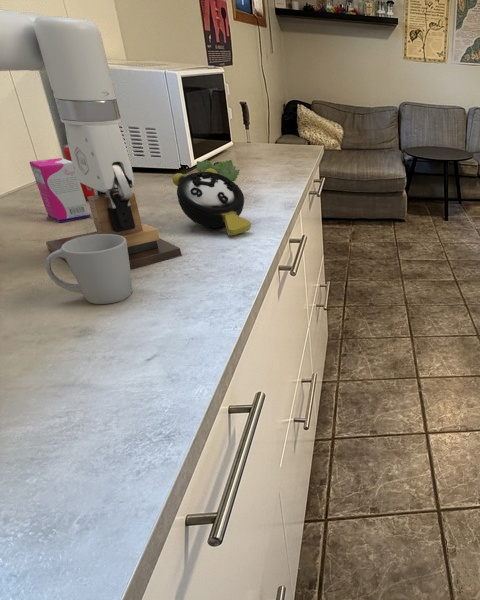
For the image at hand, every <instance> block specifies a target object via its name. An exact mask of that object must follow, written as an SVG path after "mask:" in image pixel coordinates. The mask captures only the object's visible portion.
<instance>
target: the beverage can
mask: <svg viewBox="0 0 480 600" xmlns="http://www.w3.org/2000/svg"><path fill="white" fill-rule="evenodd" d="M63 153H64V157H65V159H66V160H69V161H72V159H71V155H70V151H69V146H68V143H66V144H64V145H63ZM80 184H81V188H82V191H83V194H84V197H85V200H86V202H88V198H87V197H89V196H95V193H94V190H93V188H91V187H89V186H86V185H84V184H82V183H80Z"/></svg>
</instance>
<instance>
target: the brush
mask: <svg viewBox="0 0 480 600" xmlns="http://www.w3.org/2000/svg"><path fill="white" fill-rule="evenodd" d="M118 193H119V192H118ZM118 193H112V194H113V197H114V195H115V194H118ZM132 194H133V197H132V198H130V203H131V206H130V207H131V211H132V215H133V219H134V223H135V228H134V229H131V230H126V231H122V232H115V231H113V228H112V224H111V220H110V217H109V213H108V208H110V207H109V204H108V200H107V197H106V194H102V195H95V196H89V197H87V198H88V201H87V202H88V205H89V210H90V212H91V216H92V219H93V223H94V225H95V231H97V234H114V235H120V236H123V237H124V238H125V239H126V241H127V249H128V255H130V254H134V253H138V252H143V251H147V250H151V249H155V248H158V245H157V240H160V239H161V238H160V235H159V231H158V228H156V227H154V226H152V225H149V224H147V223H144V224H142V220H141V216H140V210H139V207H138V203H137V198H136V194H135V193H134V192H132ZM97 234H94V235H97ZM159 238H160V239H159Z"/></svg>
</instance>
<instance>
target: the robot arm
mask: <svg viewBox="0 0 480 600" xmlns="http://www.w3.org/2000/svg"><path fill="white" fill-rule="evenodd" d="M8 71H9V72H15V71H16V72H18V71H19V72H20V71H33V72H35V71H36V72H39V71H46V74H47V78H48V81H49V85H50V88H51V91H52V95H53V98H54V102H55V105H56V109H57V112H58V115H59V119H60V123H63V124H64V130H65V136H66V141H67V144H68V146H69V151H70V155H71V159H72V163H73V167H74V171H75V175H76V178H77V180H78V181H79V182H80V183H82V184H84V185H86V186H89V187H91V188H93V190H94V193H95V195H102V194H106V197H107V200H108V204H109V207H110V208H108V213H109V217H110V220H111V224H112V228H113V231H115V232H122V231H126V230H131V229H134V228H135V223H134V219H133V215H132V211H131V207H130V206H131V203H130V198H132V197H133V194H132V193H133V191H132V188H134V186H135V177H134V172H133V168H132V163H131V159H130V157H129V153H128V150H127V146H126V142H125V140H124V137H123V134H122V131H121V129H120V126H119V124H121V123H122V122H123V121H122V118H121V113H120V109H119V105H118V100H117V97H116V93H115V88H114V84H113V79H112V75H111V71H110V67H109V62H108V59H107V54H106V50H105V46H104V42H103V37H102V34H101V31H100V29H99V27H98V26H97V25H96V24H95V23H94V22H93V21H91V20H89V19H85V18H78V17H71V16H70V17H69V16H58V15H57V16H56V15H44V14H40V13H34V12H27V11H26V12H25V11H17V10H16V11H15V10H9V9H0V72H8ZM118 192H119V193H118ZM112 193H118V194H115V195H114V197H113V194H112Z"/></svg>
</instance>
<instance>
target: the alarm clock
mask: <svg viewBox="0 0 480 600" xmlns="http://www.w3.org/2000/svg"><path fill="white" fill-rule="evenodd" d="M172 183H173V184H174V185H175V186H177V187H176V196H177V201H178V205H179V207H180V209H181V211H182V212H183V214H184V215H185V216H186V217H187V218H188V219H189V220H190V221H192V222H194V223H195V224H197V225H200V226H203V227H206V228H213V229H214V228H215V229H216V228H223V227H225V229H226V232H227V235H228V236H235V235H239V234H242V233H243V234H244V233H246V232H248V231H250V229H251V227H252V222H251V221H249V220H247V219H245V218H243V217H242V216H240V215H241V214H242V212H243V209H244V206H245V196H244V193H243V190H241V188H240V186H239V185H238V184H236V183H235V181H233V182H232V181H231V180H230V179H228V178H227V177H225V176H222V175H220V174H217V172H216V170H214V169H212V168H209V169H206V171H205V172H193V173H190V174H187V175H184V174H183V173H179V172H178V173H175V174H174V175H172ZM237 185H238V186H237Z"/></svg>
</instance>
